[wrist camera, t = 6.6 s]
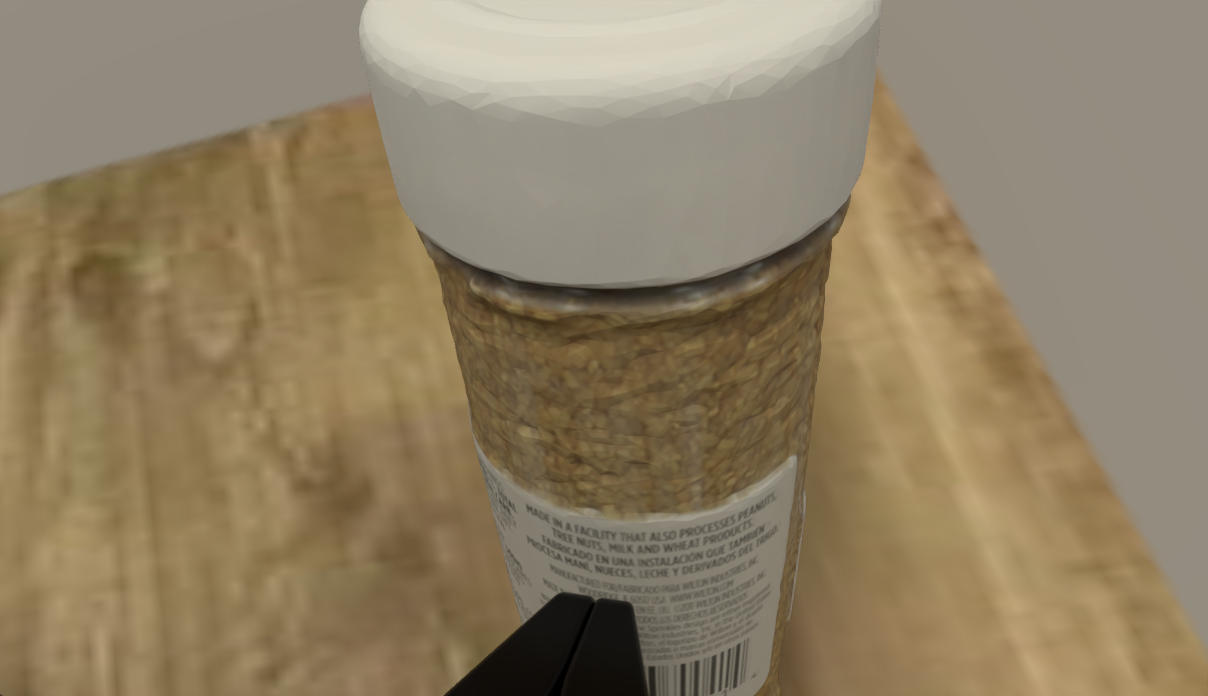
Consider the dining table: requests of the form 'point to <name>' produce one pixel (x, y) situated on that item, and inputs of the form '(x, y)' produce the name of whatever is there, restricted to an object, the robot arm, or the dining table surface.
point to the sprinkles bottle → (636, 287)
